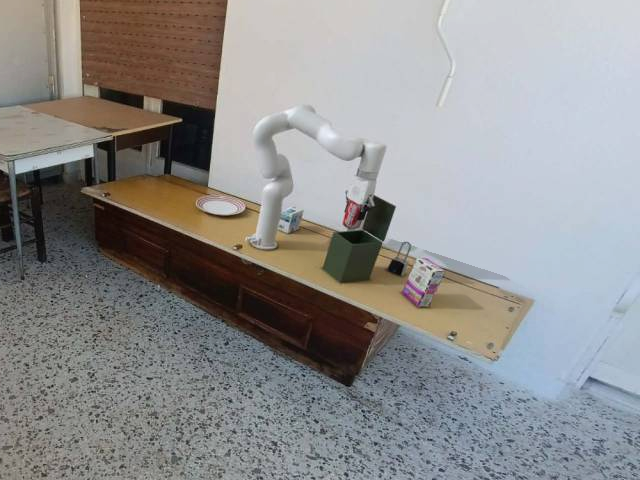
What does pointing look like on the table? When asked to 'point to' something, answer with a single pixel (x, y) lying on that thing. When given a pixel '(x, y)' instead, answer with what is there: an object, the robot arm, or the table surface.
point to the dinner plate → (220, 205)
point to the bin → (352, 255)
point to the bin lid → (379, 218)
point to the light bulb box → (290, 219)
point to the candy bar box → (423, 282)
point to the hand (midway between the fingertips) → (353, 215)
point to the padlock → (399, 263)
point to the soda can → (352, 216)
